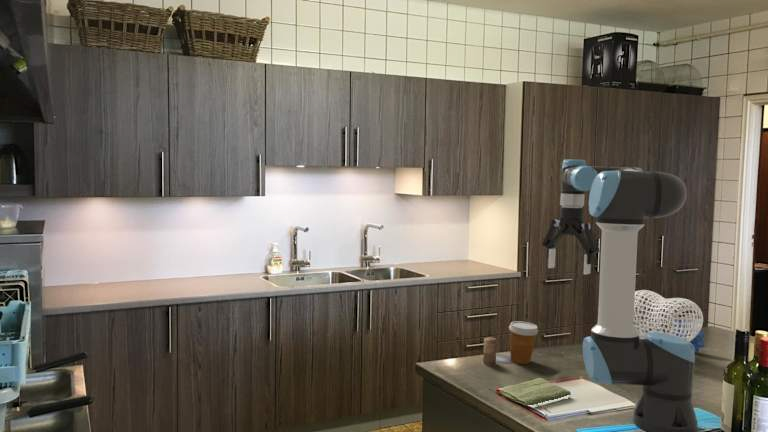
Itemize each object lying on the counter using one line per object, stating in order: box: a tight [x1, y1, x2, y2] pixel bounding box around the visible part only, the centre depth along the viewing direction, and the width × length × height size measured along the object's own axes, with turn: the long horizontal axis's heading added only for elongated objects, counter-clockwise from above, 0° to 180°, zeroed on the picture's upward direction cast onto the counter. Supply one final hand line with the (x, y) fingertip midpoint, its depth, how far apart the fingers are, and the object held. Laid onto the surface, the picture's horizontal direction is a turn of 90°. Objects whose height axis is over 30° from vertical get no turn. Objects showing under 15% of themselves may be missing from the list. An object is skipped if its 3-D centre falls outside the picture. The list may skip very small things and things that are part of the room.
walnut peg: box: [482, 336, 498, 366], centre depth 211 cm, size 4×4×8 cm
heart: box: [634, 289, 704, 342], centre depth 226 cm, size 28×16×22 cm, turn 29°
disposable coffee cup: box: [508, 320, 539, 365], centre depth 214 cm, size 10×10×12 cm
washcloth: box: [497, 377, 572, 406], centre depth 186 cm, size 13×18×3 cm
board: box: [481, 353, 521, 367], centre depth 215 cm, size 20×12×1 cm, turn 140°
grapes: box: [672, 319, 706, 354], centre depth 234 cm, size 12×7×12 cm, turn 45°
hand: (568, 270), depth 217 cm, fingers open, 13 cm apart
